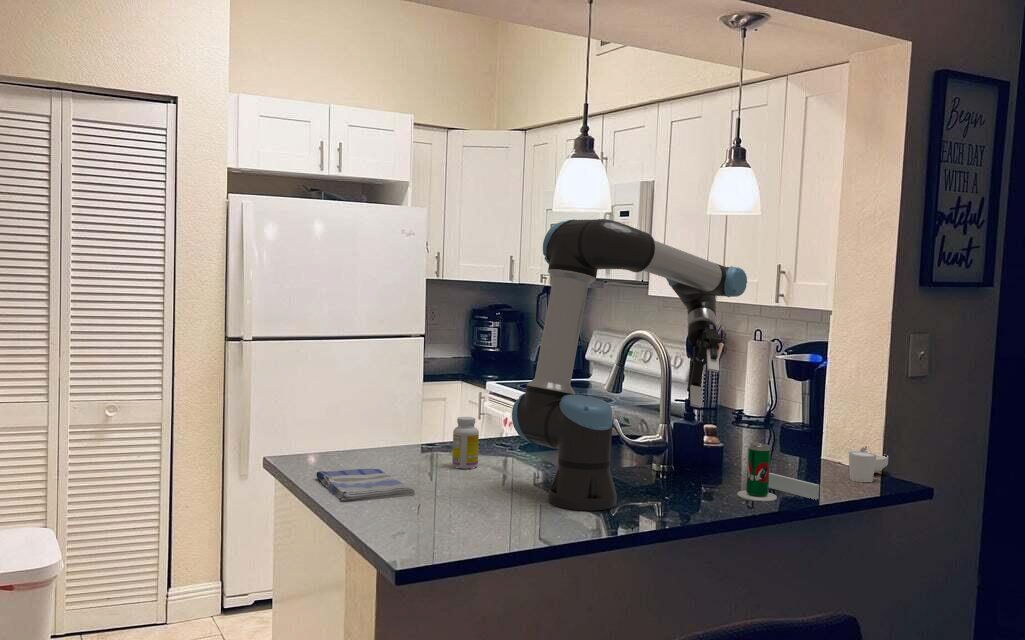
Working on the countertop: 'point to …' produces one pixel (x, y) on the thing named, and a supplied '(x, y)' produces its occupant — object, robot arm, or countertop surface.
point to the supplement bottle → (465, 443)
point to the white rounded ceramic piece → (880, 460)
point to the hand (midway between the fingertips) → (704, 388)
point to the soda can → (758, 470)
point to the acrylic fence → (794, 486)
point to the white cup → (861, 466)
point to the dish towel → (363, 484)
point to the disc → (767, 498)
